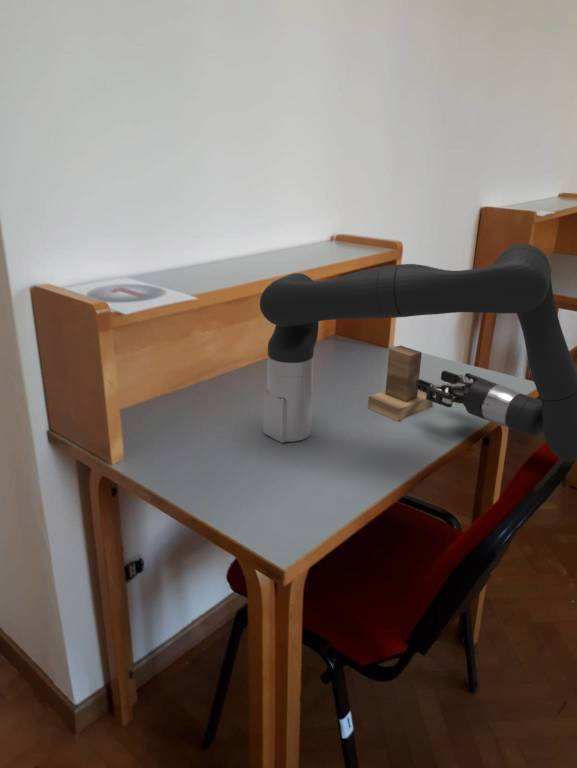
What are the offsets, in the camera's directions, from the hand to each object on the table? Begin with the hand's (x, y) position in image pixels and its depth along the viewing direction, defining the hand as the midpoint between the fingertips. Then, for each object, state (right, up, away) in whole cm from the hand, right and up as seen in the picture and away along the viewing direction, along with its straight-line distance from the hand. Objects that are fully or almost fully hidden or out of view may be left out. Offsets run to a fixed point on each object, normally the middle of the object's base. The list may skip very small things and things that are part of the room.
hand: (429, 379), depth 138 cm
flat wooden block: (-5, -7, +9) cm, 12 cm away
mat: (+8, -4, +15) cm, 18 cm away
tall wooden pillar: (-5, -4, +8) cm, 10 cm away
